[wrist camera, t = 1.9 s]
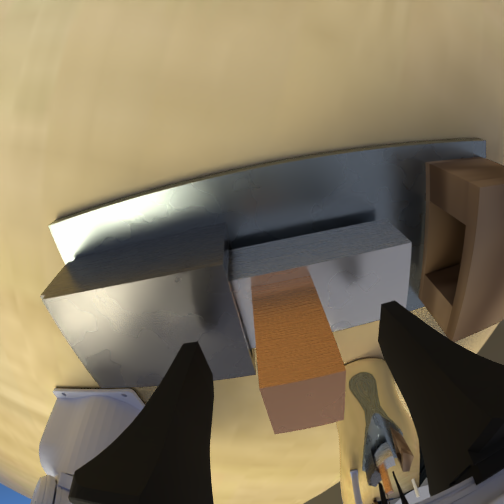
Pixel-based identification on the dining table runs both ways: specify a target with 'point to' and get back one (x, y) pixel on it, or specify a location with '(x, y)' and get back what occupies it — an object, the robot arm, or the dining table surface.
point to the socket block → (464, 245)
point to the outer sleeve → (218, 252)
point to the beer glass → (378, 440)
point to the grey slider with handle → (314, 311)
